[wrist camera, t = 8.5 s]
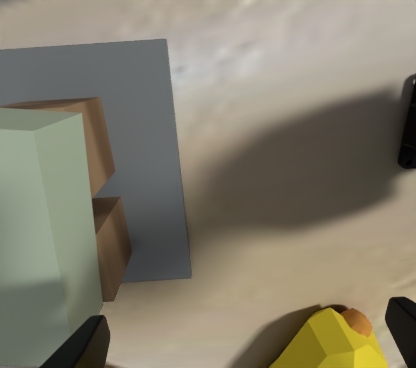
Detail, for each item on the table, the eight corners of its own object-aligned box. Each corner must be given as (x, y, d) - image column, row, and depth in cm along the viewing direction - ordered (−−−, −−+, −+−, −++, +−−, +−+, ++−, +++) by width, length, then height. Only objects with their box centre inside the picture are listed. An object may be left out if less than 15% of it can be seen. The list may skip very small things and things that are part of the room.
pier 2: (120, 196, 20) (96, 234, 15) (132, 252, 22) (113, 301, 17) (53, 200, 20) (8, 240, 15) (70, 256, 22) (35, 306, 17)
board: (166, 39, 17) (165, 38, 16) (191, 273, 24) (191, 278, 23) (-62, 54, 17) (-71, 54, 16) (30, 283, 24) (26, 288, 23)
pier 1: (100, 96, 17) (63, 107, 13) (115, 170, 19) (88, 203, 15) (21, 102, 17) (-44, 114, 13) (44, 175, 19) (-5, 208, 15)
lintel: (81, 112, 13) (33, 131, 9) (103, 304, 18) (76, 367, 14) (-29, 105, 13) (-124, 121, 9) (22, 301, 17) (-26, 364, 14)
